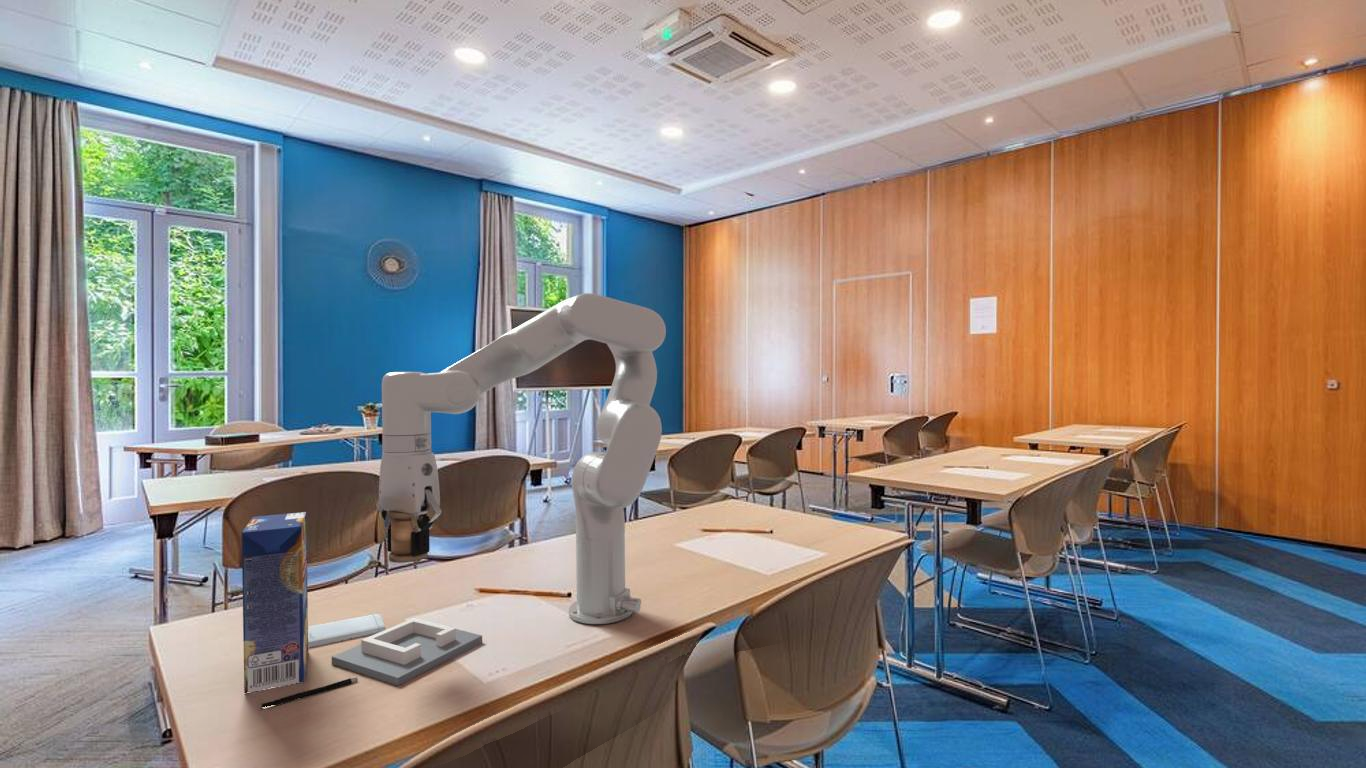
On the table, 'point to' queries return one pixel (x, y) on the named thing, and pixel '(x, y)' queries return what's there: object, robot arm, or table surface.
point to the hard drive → (344, 629)
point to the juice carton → (275, 601)
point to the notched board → (406, 650)
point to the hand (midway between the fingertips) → (408, 550)
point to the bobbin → (402, 537)
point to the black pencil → (310, 692)
